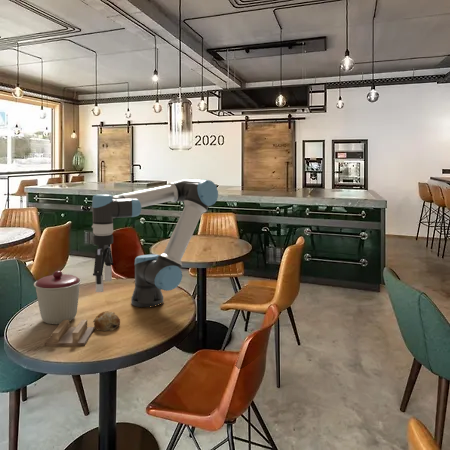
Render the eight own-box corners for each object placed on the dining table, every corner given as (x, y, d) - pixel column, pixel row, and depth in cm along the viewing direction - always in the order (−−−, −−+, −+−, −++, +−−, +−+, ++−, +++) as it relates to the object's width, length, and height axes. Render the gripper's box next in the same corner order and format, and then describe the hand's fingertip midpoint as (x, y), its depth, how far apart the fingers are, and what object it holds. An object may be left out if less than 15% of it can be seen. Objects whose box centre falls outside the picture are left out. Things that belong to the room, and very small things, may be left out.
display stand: (94, 329, 155) (94, 318, 154) (84, 345, 141) (84, 333, 140) (58, 329, 154) (57, 318, 153) (44, 345, 140) (44, 334, 139)
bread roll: (102, 341, 153) (107, 326, 150) (86, 325, 157) (91, 309, 154) (121, 332, 161) (127, 317, 158) (105, 317, 165) (110, 302, 162)
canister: (79, 309, 175) (78, 263, 172) (85, 324, 159) (83, 274, 156) (34, 315, 167) (32, 267, 164) (36, 331, 151) (33, 279, 148)
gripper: (101, 228, 165) (102, 277, 168) (83, 239, 140) (85, 296, 143) (119, 228, 165) (120, 277, 168) (104, 240, 140) (105, 296, 144)
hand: (104, 286), depth 156 cm, fingers open, 13 cm apart
